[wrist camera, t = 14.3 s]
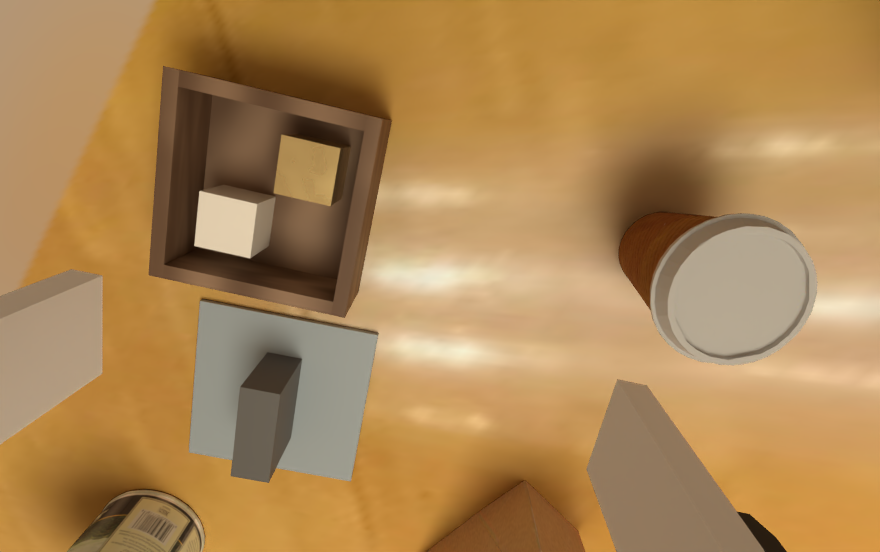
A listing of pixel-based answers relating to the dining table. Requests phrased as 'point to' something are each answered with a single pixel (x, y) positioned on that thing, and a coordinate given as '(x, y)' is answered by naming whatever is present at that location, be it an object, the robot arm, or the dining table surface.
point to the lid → (278, 392)
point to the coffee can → (143, 526)
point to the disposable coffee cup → (720, 283)
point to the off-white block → (234, 220)
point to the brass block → (311, 169)
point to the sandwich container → (514, 527)
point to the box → (261, 191)
